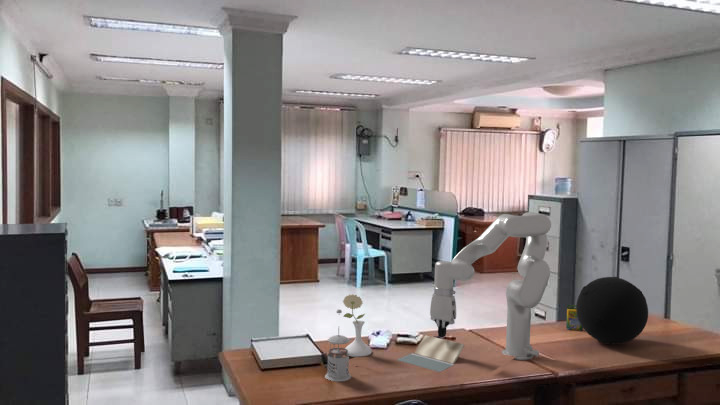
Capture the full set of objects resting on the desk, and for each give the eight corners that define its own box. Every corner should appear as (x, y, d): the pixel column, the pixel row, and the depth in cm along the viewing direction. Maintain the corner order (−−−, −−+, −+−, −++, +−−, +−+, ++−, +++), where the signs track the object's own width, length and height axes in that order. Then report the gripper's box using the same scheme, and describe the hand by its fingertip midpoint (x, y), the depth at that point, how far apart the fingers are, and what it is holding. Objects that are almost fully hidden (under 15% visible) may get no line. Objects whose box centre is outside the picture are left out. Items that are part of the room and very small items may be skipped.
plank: (464, 346, 230) (463, 344, 229) (453, 365, 224) (452, 363, 223) (426, 337, 241) (425, 335, 241) (415, 355, 235) (414, 353, 235)
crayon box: (567, 329, 280) (568, 306, 279) (566, 328, 283) (567, 304, 282) (582, 330, 279) (583, 307, 278) (581, 329, 281) (582, 305, 281)
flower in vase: (376, 353, 238) (377, 293, 237) (364, 361, 228) (366, 299, 227) (347, 348, 244) (349, 290, 242) (335, 356, 234) (336, 295, 232)
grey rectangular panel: (454, 367, 223) (454, 364, 223) (439, 375, 214) (439, 371, 214) (411, 356, 235) (411, 353, 235) (396, 363, 227) (396, 359, 227)
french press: (330, 383, 205) (331, 313, 203) (319, 372, 215) (320, 306, 214) (355, 379, 209) (356, 311, 207) (343, 369, 219) (344, 304, 218)
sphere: (659, 354, 244) (663, 284, 242) (589, 353, 244) (592, 283, 242) (628, 334, 273) (631, 272, 271) (565, 333, 274) (568, 270, 272)
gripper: (464, 293, 231) (462, 338, 232) (432, 287, 240) (431, 330, 242) (454, 296, 225) (453, 342, 226) (422, 290, 235) (421, 334, 236)
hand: (441, 336), depth 234 cm, fingers closed
